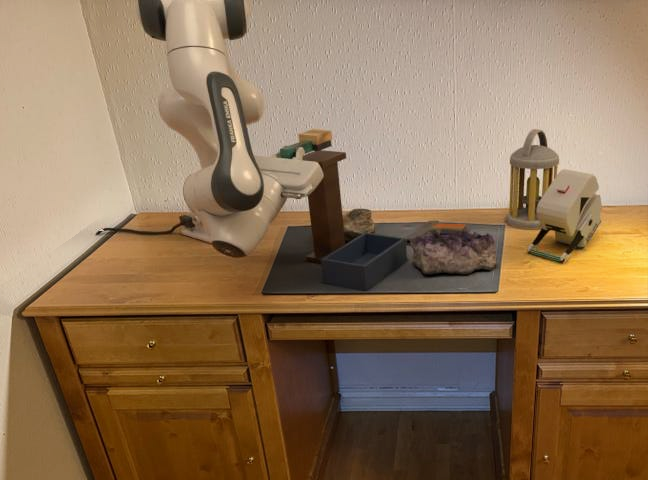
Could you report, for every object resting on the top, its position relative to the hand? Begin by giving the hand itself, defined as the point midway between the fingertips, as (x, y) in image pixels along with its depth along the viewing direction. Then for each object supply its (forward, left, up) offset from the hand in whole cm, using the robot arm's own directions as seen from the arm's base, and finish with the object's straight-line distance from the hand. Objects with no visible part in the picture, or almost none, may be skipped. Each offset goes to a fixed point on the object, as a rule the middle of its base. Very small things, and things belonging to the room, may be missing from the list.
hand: (294, 148), depth 144 cm
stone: (-1, +23, -29) cm, 37 cm away
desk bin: (+13, +4, -29) cm, 32 cm away
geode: (+32, +14, -29) cm, 45 cm away
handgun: (+19, +32, -29) cm, 47 cm away
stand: (0, +9, -29) cm, 30 cm away
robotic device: (+53, +37, -29) cm, 71 cm away
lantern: (+38, +54, -29) cm, 72 cm away
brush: (0, +4, -2) cm, 4 cm away
